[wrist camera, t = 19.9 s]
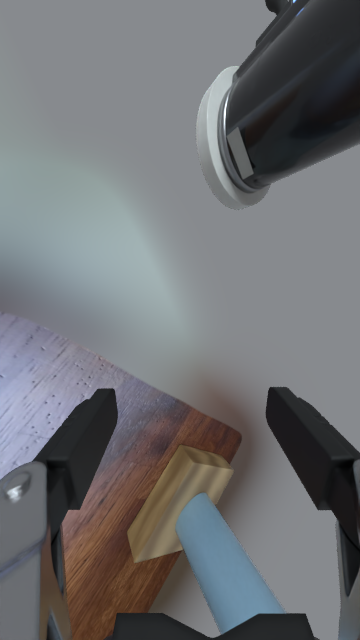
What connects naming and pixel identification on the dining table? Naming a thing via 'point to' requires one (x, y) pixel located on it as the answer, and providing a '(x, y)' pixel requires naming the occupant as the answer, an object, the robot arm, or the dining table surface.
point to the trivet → (176, 500)
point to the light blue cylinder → (222, 566)
